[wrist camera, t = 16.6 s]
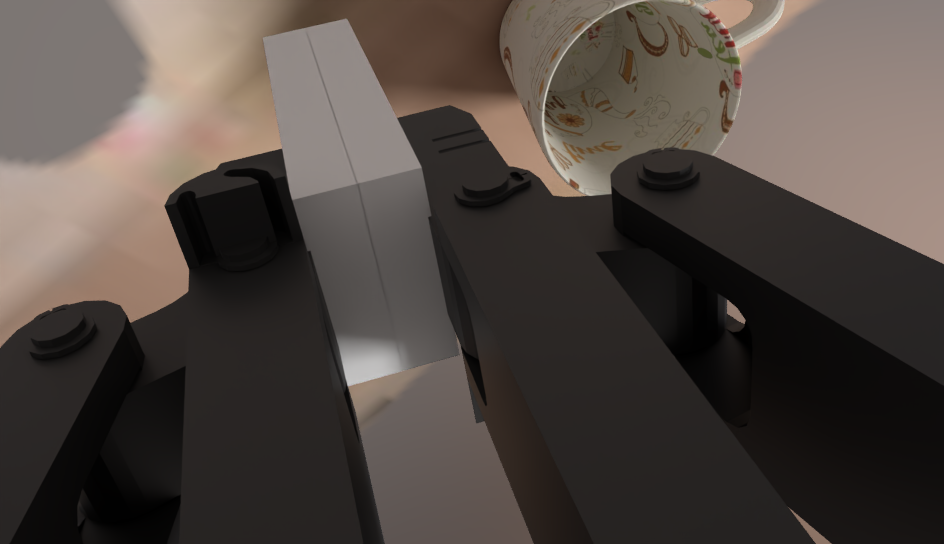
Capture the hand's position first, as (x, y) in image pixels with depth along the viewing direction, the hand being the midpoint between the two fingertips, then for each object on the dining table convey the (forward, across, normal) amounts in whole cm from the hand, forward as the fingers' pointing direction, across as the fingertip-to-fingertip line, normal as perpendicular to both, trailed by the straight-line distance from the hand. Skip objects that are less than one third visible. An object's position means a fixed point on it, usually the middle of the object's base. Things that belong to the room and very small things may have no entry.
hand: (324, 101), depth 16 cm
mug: (+24, +14, -8) cm, 29 cm away
